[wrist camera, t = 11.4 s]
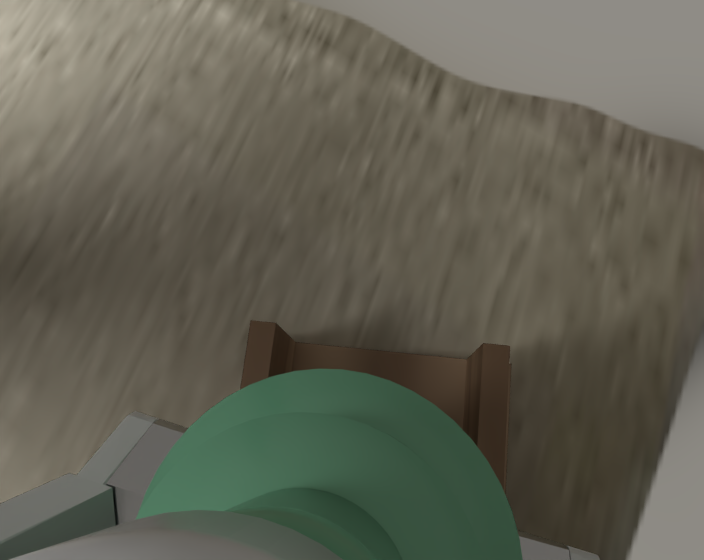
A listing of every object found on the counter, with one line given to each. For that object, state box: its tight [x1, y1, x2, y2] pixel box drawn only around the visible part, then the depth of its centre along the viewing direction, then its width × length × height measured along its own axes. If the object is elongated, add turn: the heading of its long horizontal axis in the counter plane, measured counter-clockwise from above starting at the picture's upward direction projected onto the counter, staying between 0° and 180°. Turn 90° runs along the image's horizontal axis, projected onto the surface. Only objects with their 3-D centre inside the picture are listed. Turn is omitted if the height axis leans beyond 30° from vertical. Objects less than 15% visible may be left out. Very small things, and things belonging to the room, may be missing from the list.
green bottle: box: [9, 369, 523, 560], centre depth 12 cm, size 6×6×21 cm
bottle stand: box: [240, 320, 511, 494], centre depth 25 cm, size 12×11×6 cm
